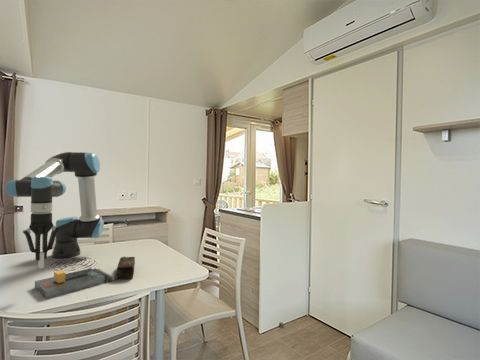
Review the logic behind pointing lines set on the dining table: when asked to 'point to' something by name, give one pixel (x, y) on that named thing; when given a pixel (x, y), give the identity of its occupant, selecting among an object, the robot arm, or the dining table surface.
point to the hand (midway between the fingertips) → (41, 267)
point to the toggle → (59, 276)
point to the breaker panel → (69, 283)
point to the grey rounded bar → (107, 276)
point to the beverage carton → (125, 268)
